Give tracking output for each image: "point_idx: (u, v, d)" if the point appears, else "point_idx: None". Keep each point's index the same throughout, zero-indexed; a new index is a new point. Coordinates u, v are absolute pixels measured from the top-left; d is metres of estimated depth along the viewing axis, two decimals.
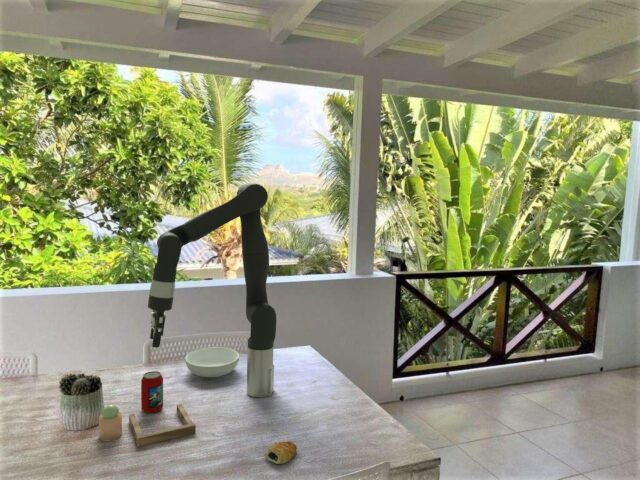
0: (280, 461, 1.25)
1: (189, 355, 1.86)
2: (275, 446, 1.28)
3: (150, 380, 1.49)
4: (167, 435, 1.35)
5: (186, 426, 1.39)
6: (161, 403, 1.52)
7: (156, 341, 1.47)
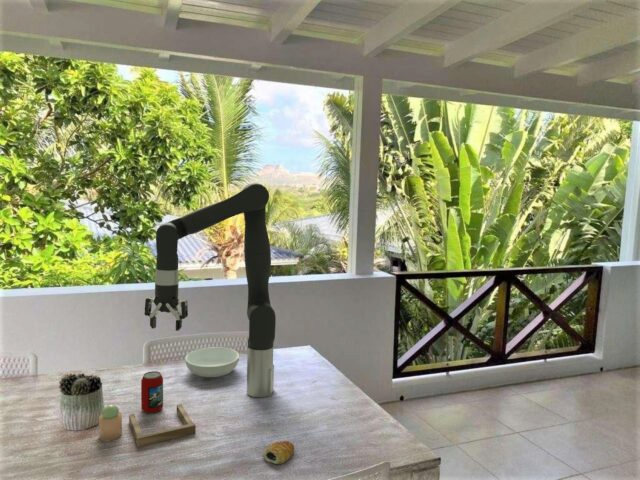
0: (278, 461, 1.25)
1: (189, 355, 1.86)
2: (273, 446, 1.28)
3: (150, 380, 1.49)
4: (167, 435, 1.35)
5: (186, 426, 1.39)
6: (161, 403, 1.52)
7: None
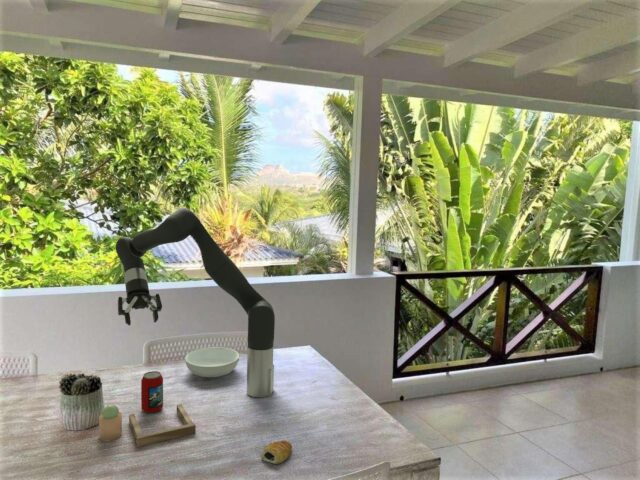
0: (277, 461, 1.25)
1: (189, 355, 1.86)
2: (271, 446, 1.28)
3: (150, 380, 1.49)
4: (167, 435, 1.35)
5: (186, 426, 1.39)
6: (161, 403, 1.52)
7: None
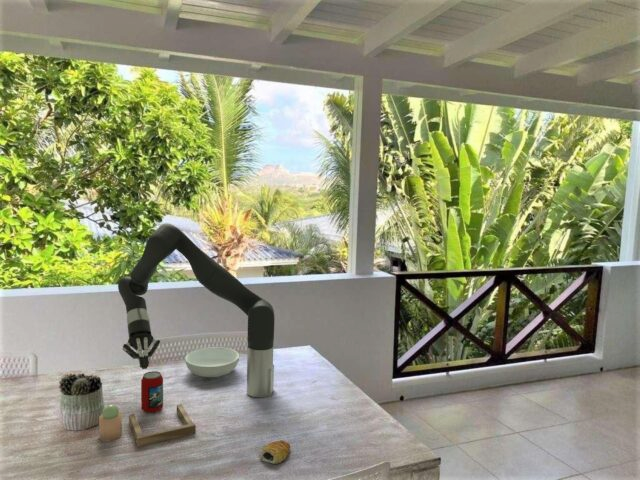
0: (276, 460, 1.25)
1: (189, 355, 1.86)
2: (270, 446, 1.28)
3: (150, 380, 1.49)
4: (167, 435, 1.35)
5: (186, 426, 1.39)
6: (161, 403, 1.52)
7: None
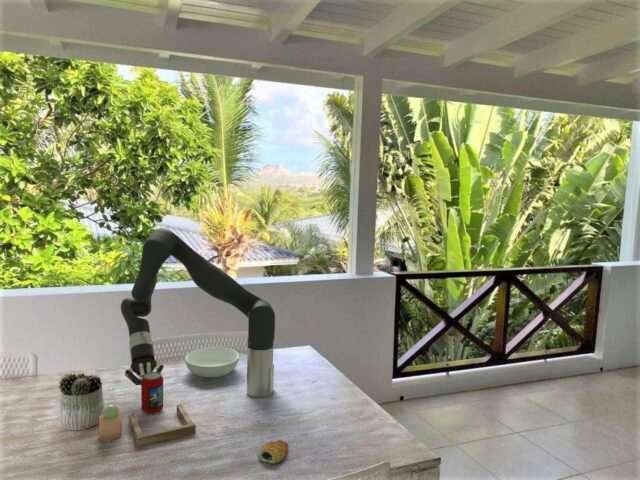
0: (275, 460, 1.25)
1: (189, 355, 1.86)
2: (268, 446, 1.28)
3: (150, 381, 1.49)
4: (167, 435, 1.35)
5: (186, 426, 1.39)
6: (161, 404, 1.52)
7: None
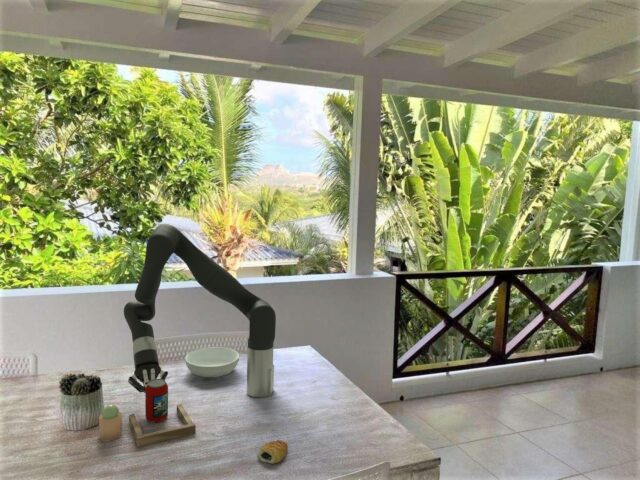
0: (274, 460, 1.25)
1: (189, 355, 1.86)
2: (267, 446, 1.28)
3: (155, 389, 1.43)
4: (167, 435, 1.35)
5: (186, 426, 1.39)
6: (166, 412, 1.46)
7: None
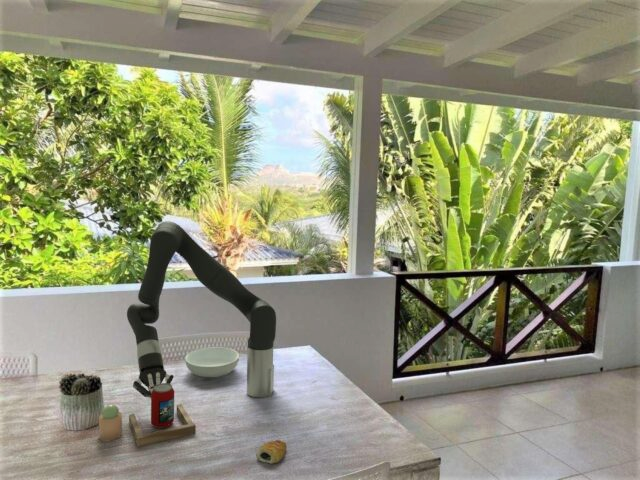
0: (273, 460, 1.25)
1: (189, 355, 1.86)
2: (266, 446, 1.28)
3: (161, 394, 1.40)
4: (167, 435, 1.35)
5: (186, 426, 1.39)
6: (172, 417, 1.43)
7: None
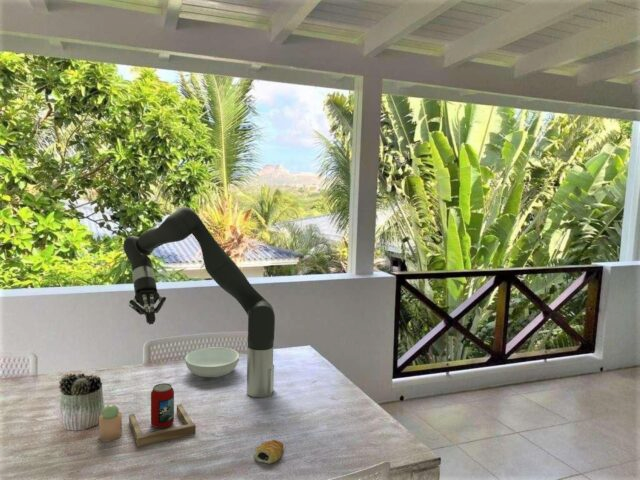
0: (271, 460, 1.25)
1: (189, 355, 1.86)
2: (264, 446, 1.28)
3: (160, 393, 1.40)
4: (167, 435, 1.35)
5: (186, 426, 1.39)
6: (172, 417, 1.43)
7: None
